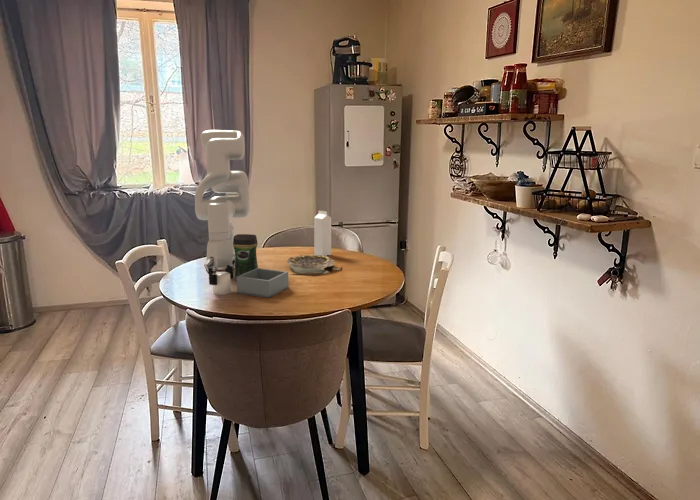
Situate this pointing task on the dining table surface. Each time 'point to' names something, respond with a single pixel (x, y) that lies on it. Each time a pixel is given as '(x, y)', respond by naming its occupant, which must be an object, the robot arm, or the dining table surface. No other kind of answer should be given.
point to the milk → (322, 234)
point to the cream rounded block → (222, 283)
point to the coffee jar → (245, 253)
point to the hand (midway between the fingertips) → (221, 281)
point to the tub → (262, 282)
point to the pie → (311, 264)
